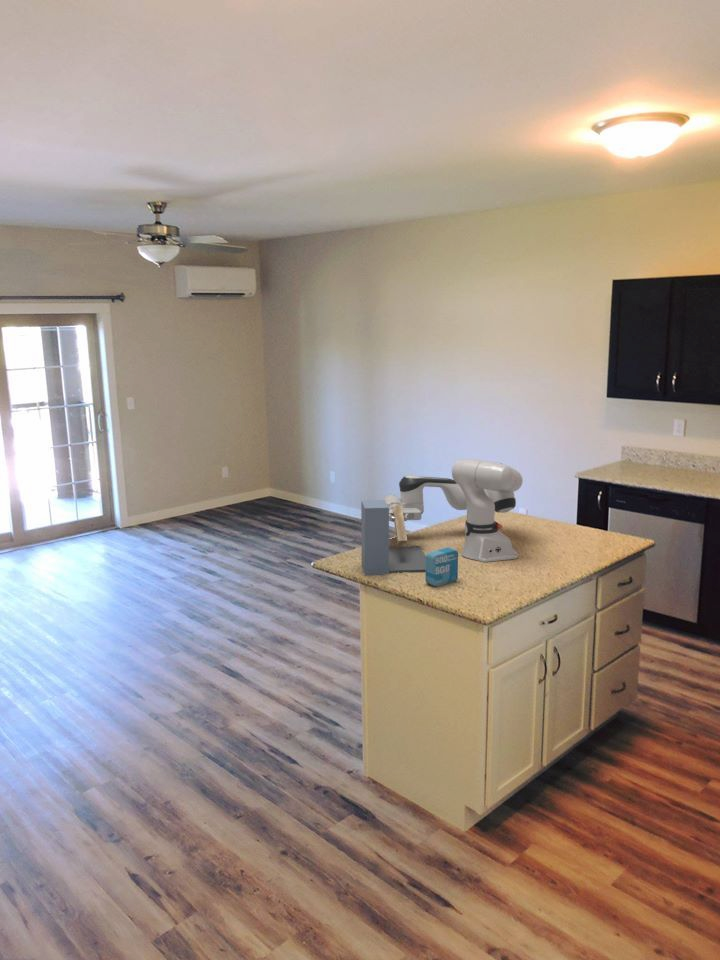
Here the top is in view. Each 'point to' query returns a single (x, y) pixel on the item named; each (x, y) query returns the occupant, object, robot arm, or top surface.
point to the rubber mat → (406, 559)
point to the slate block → (375, 537)
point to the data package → (441, 566)
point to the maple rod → (399, 526)
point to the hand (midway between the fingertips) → (398, 519)
